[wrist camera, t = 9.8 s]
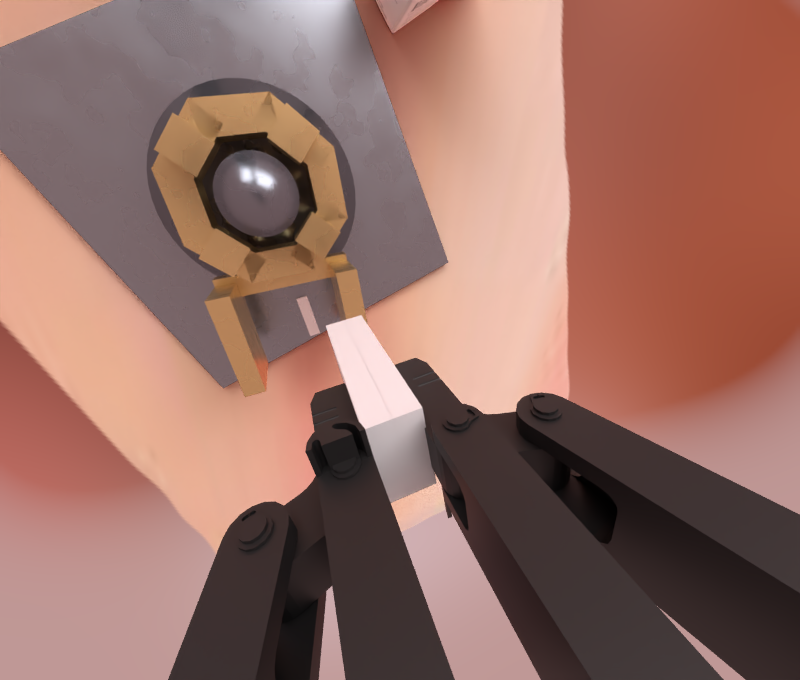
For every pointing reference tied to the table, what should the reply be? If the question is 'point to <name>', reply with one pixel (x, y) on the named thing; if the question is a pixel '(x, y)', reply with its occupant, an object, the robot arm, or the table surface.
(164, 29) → the cap plate
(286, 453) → the table surface
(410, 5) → the ink box
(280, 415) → the table surface
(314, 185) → the octagonal ring stand
